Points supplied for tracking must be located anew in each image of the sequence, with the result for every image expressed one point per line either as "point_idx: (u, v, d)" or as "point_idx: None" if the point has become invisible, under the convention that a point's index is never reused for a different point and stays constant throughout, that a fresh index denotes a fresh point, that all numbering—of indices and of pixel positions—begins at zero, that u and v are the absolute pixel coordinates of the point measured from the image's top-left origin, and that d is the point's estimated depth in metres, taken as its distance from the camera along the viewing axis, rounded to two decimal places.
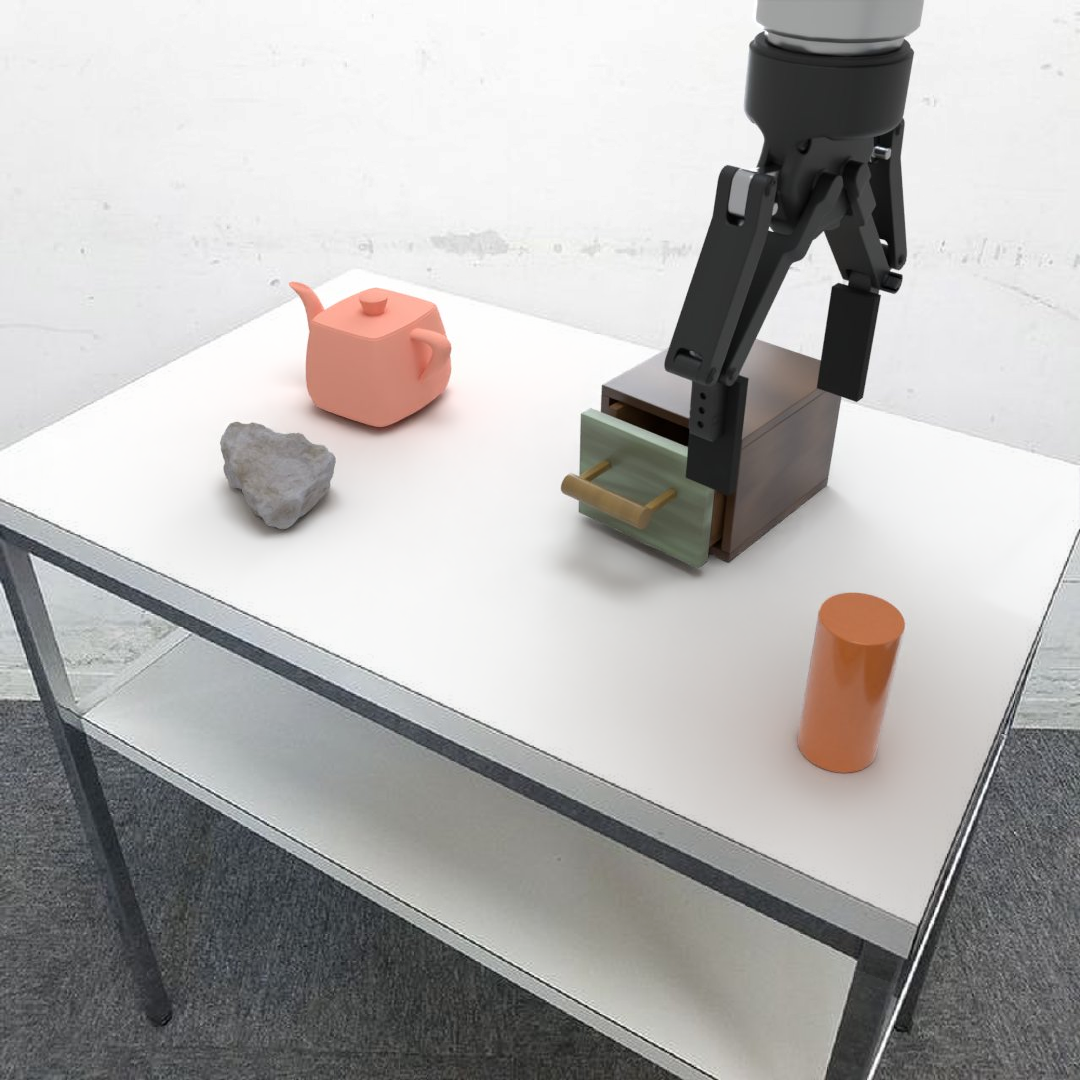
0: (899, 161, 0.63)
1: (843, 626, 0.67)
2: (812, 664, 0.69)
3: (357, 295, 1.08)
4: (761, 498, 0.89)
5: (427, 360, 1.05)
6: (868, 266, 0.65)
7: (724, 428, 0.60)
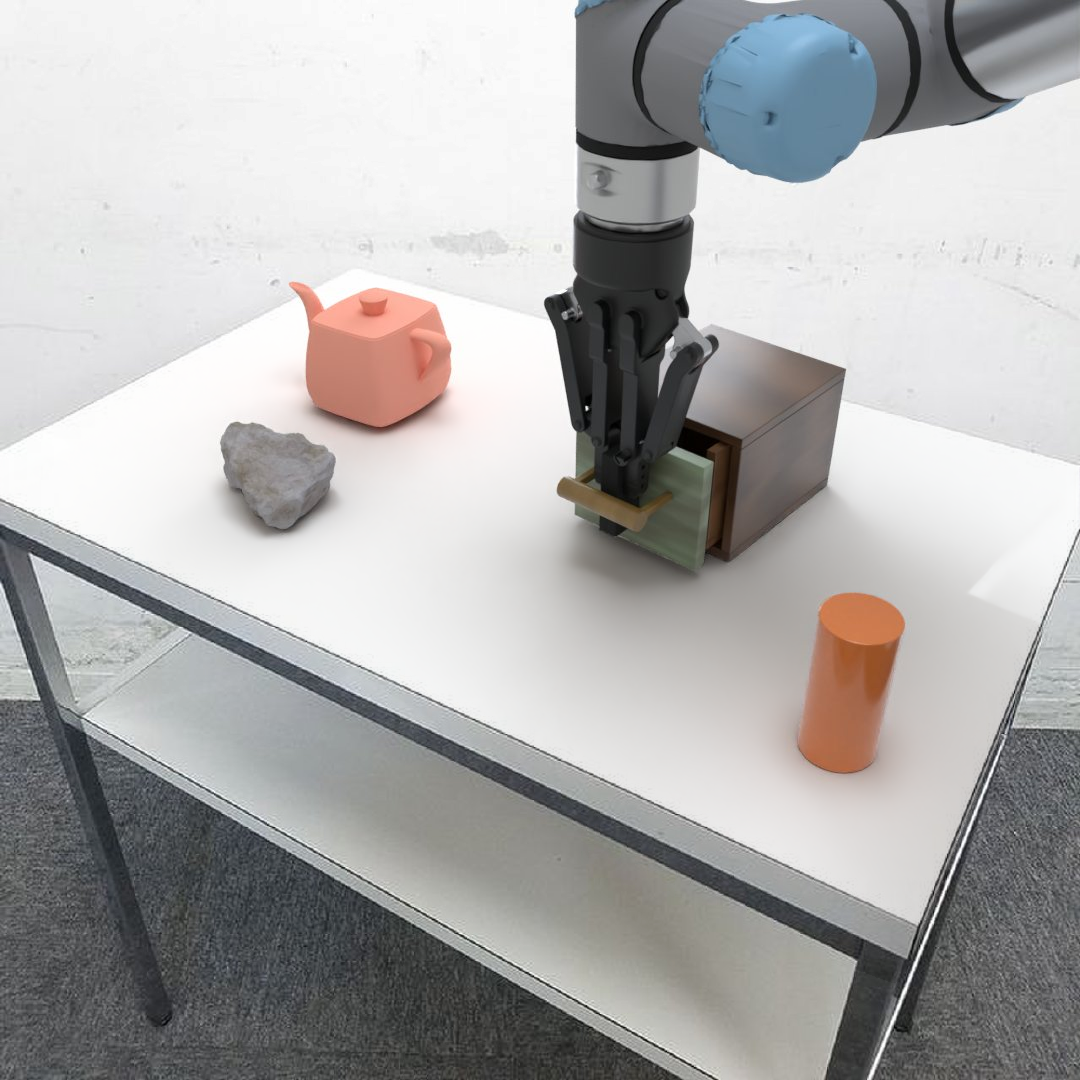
0: None
1: (843, 626, 0.67)
2: (812, 664, 0.69)
3: (357, 295, 1.08)
4: (761, 498, 0.89)
5: (427, 360, 1.05)
6: None
7: None
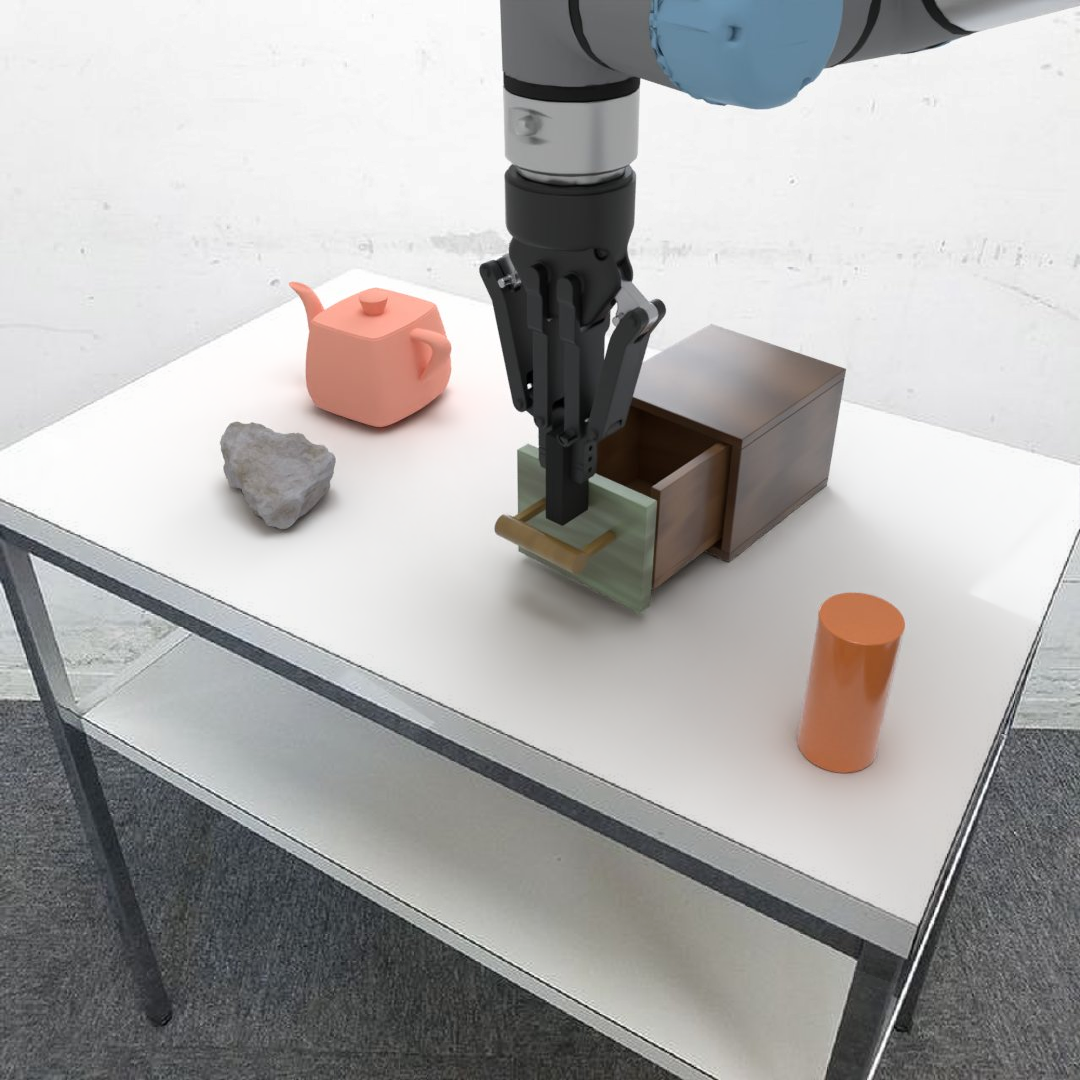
0: None
1: (843, 626, 0.67)
2: (812, 664, 0.69)
3: (357, 295, 1.08)
4: (761, 498, 0.89)
5: (427, 360, 1.05)
6: None
7: None
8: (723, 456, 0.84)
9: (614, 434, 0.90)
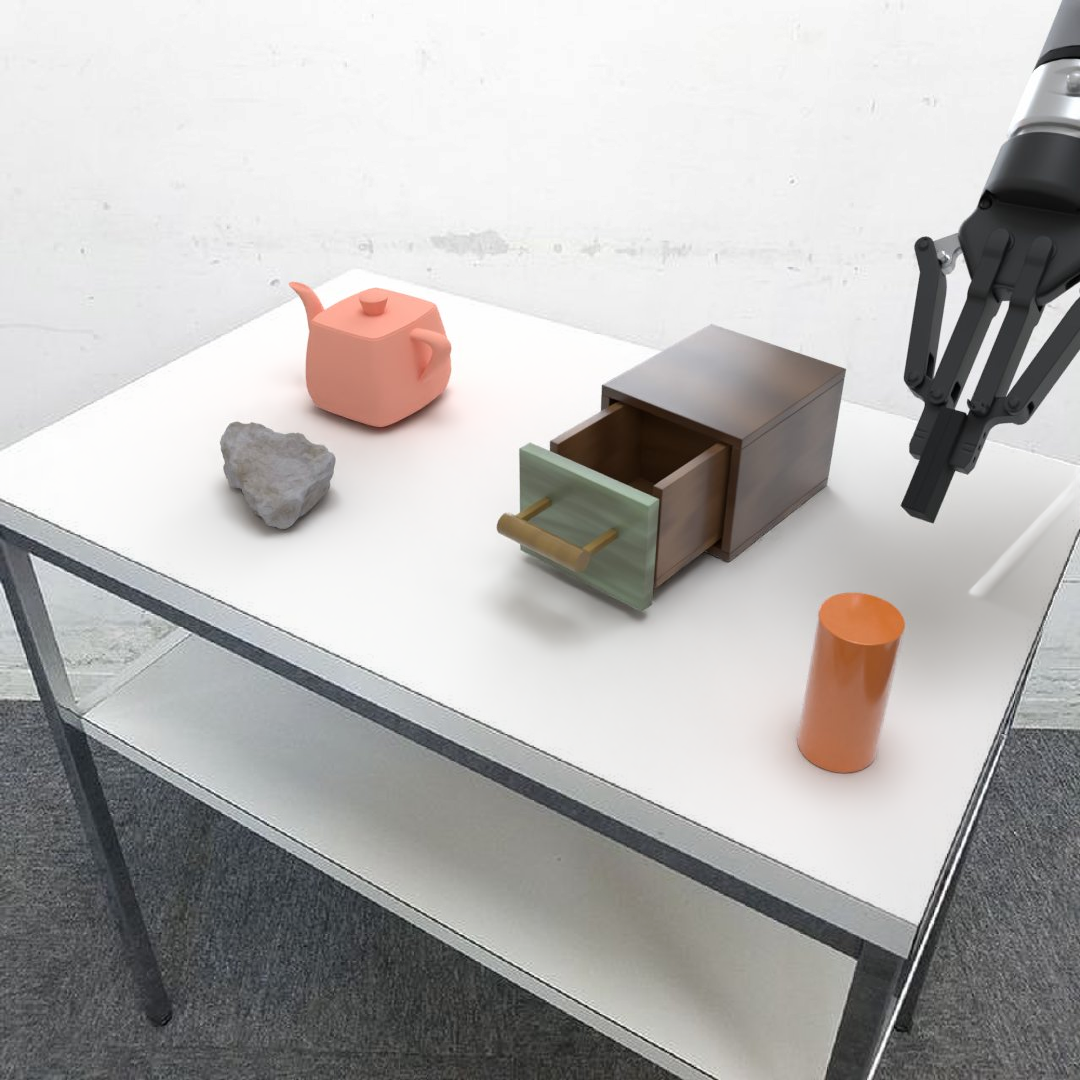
0: None
1: (843, 626, 0.67)
2: (812, 664, 0.69)
3: (357, 295, 1.08)
4: (761, 498, 0.89)
5: (427, 360, 1.05)
6: (967, 374, 0.73)
7: None
8: (725, 455, 0.85)
9: (616, 433, 0.90)
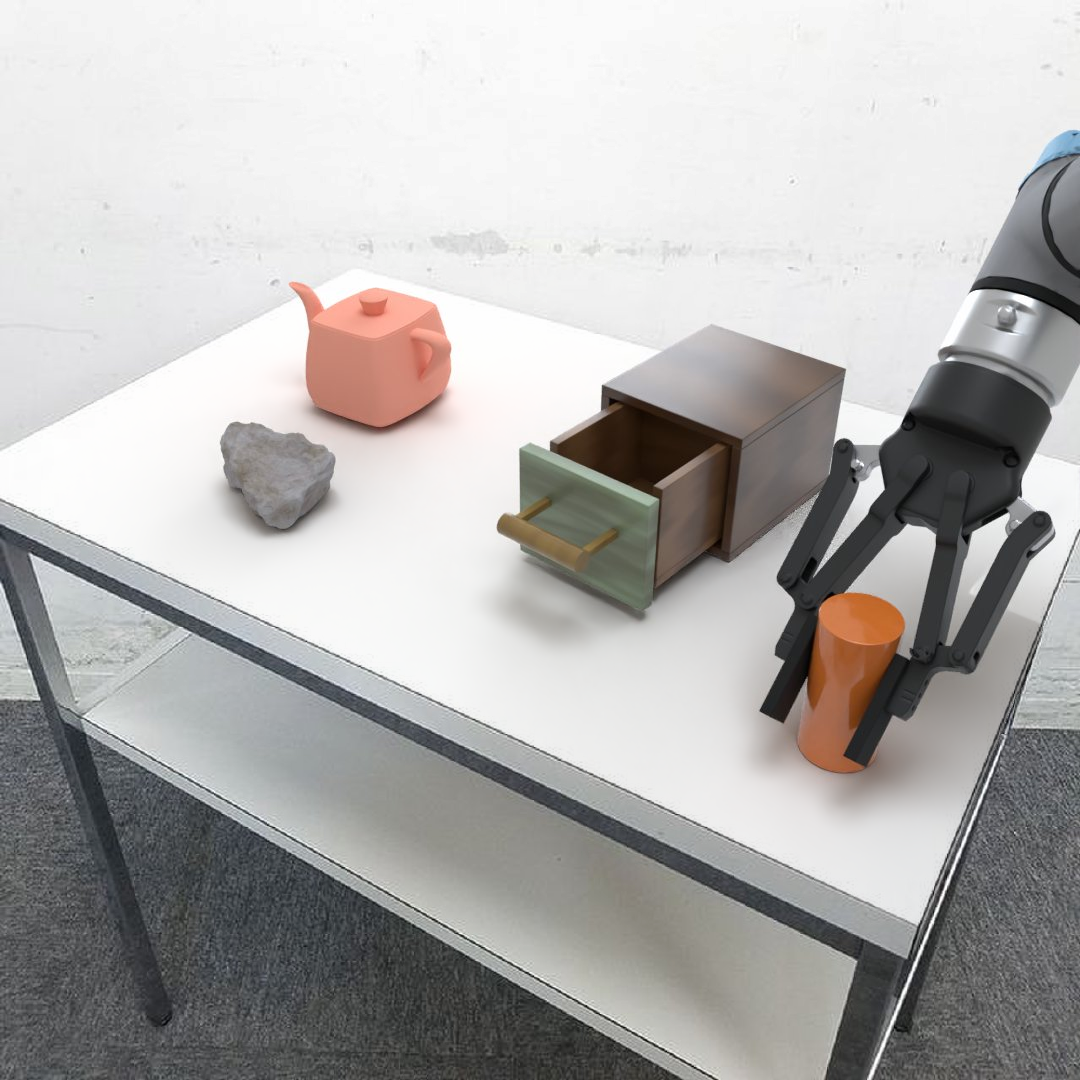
0: None
1: (843, 626, 0.67)
2: (812, 664, 0.69)
3: (357, 295, 1.08)
4: (761, 498, 0.89)
5: (427, 360, 1.05)
6: (848, 585, 0.71)
7: None
8: (725, 455, 0.85)
9: (616, 433, 0.90)
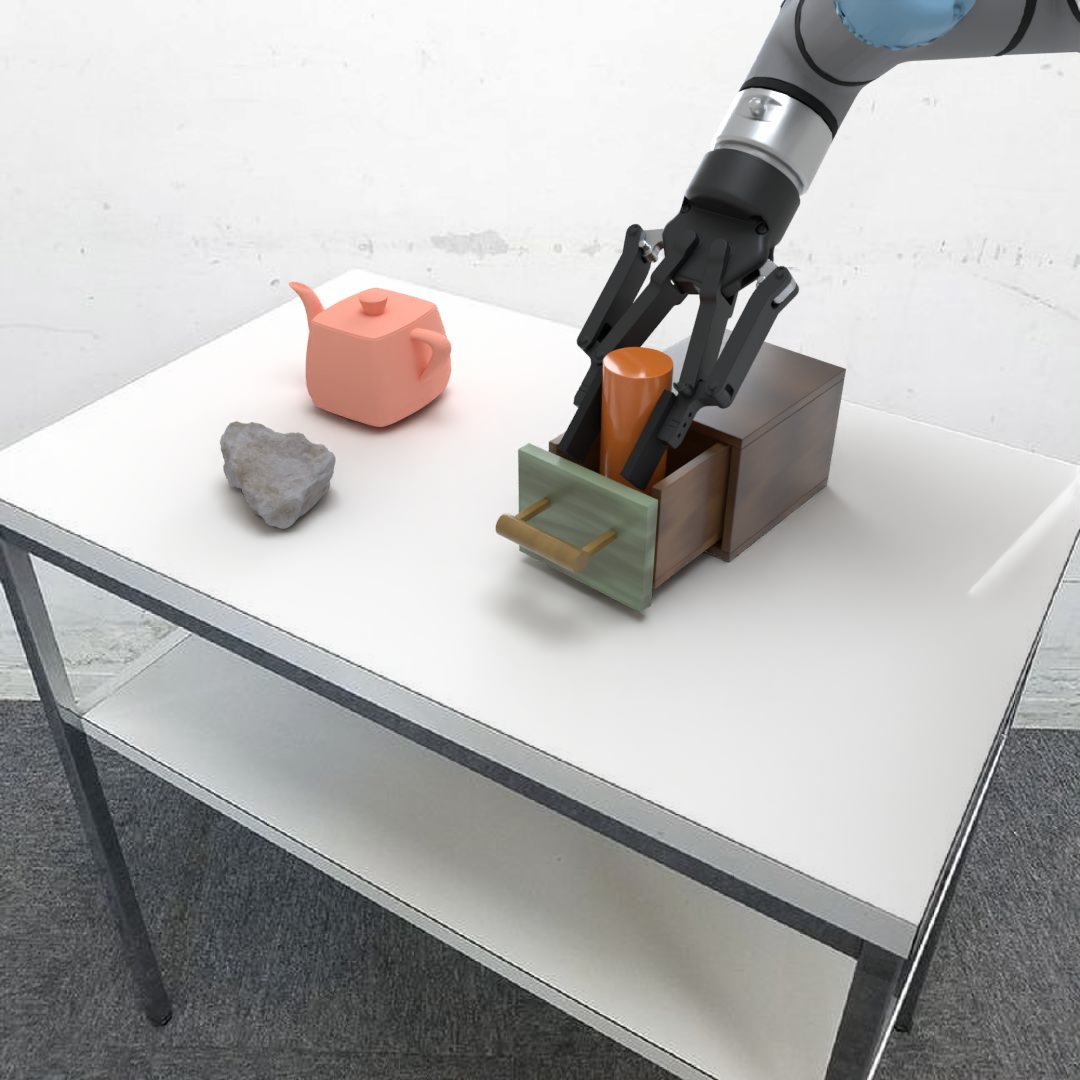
0: None
1: (621, 367, 0.80)
2: (601, 406, 0.82)
3: (357, 295, 1.08)
4: (761, 498, 0.89)
5: (427, 360, 1.05)
6: None
7: None
8: (724, 455, 0.85)
9: None
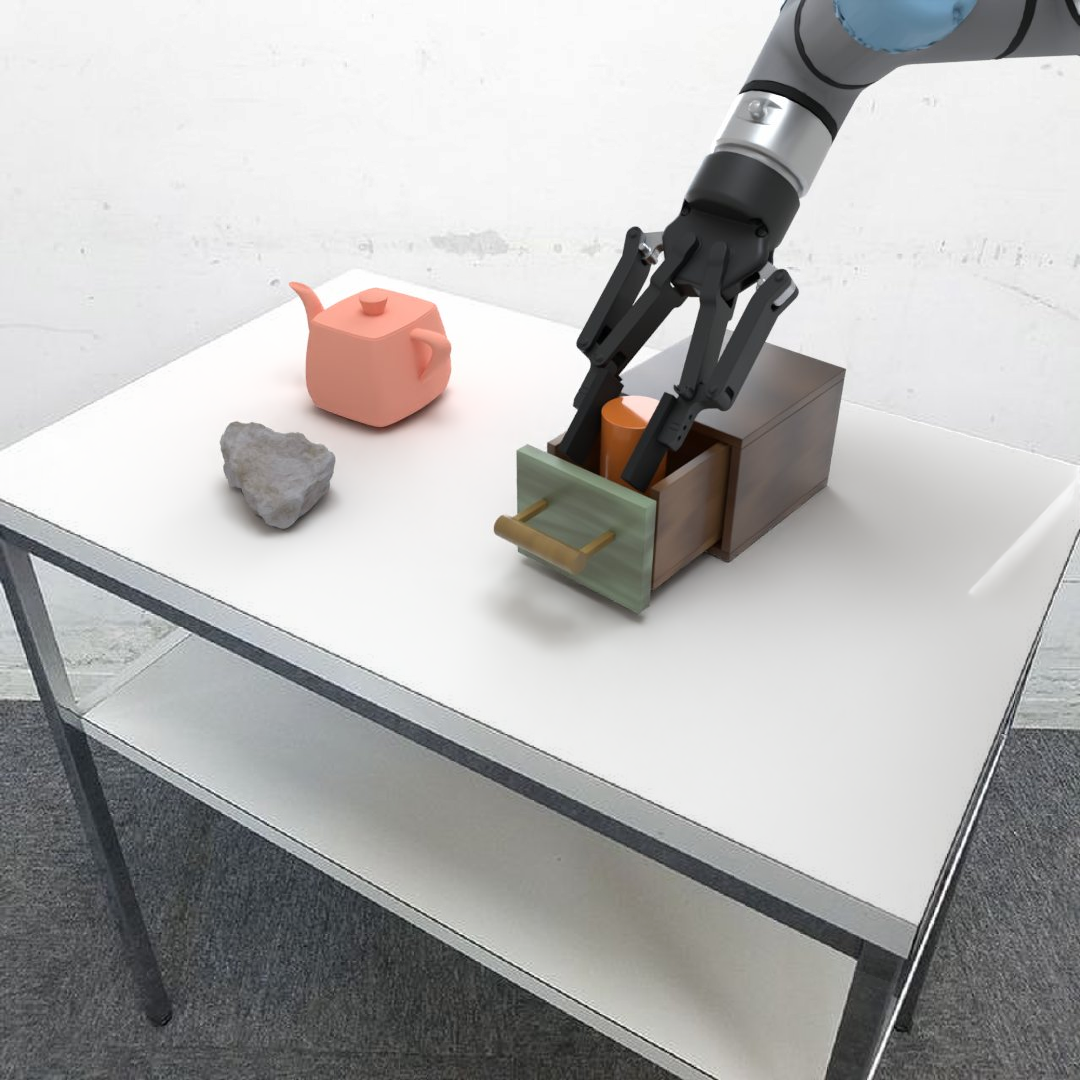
0: None
1: (619, 417, 0.82)
2: (600, 454, 0.84)
3: (357, 295, 1.08)
4: (761, 498, 0.89)
5: (427, 360, 1.05)
6: (637, 349, 0.85)
7: None
8: (722, 456, 0.84)
9: None
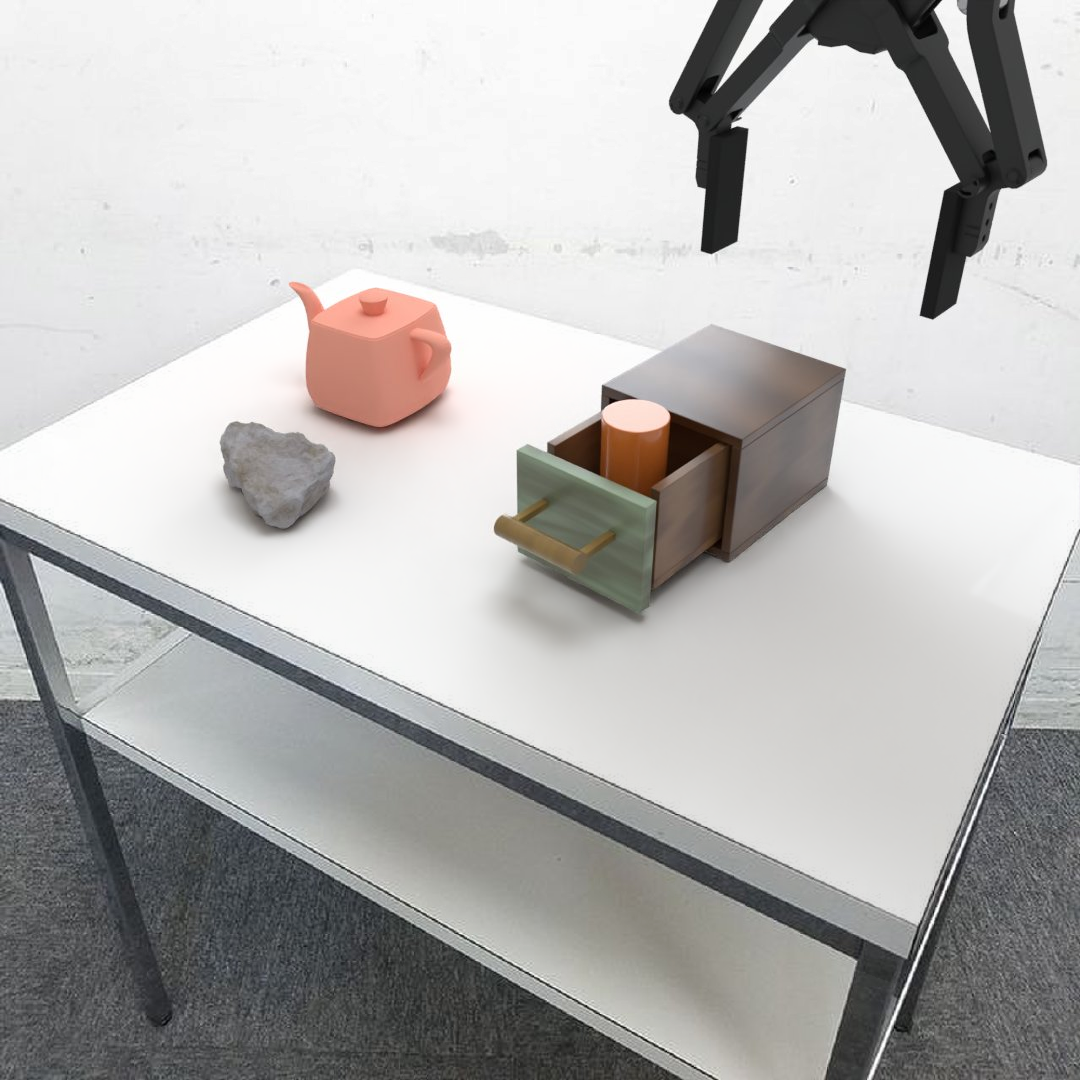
0: None
1: (619, 421, 0.82)
2: (600, 457, 0.85)
3: (357, 295, 1.08)
4: (761, 498, 0.89)
5: (427, 360, 1.05)
6: (757, 94, 0.64)
7: None
8: (722, 456, 0.84)
9: None
